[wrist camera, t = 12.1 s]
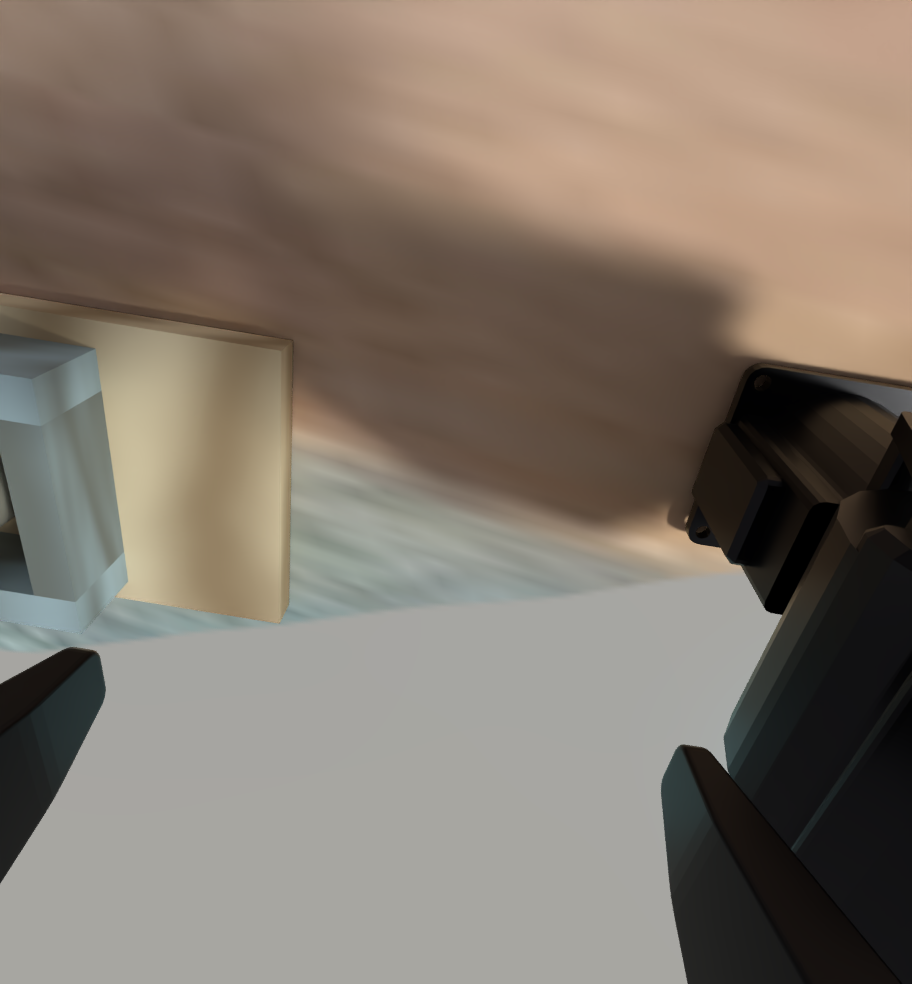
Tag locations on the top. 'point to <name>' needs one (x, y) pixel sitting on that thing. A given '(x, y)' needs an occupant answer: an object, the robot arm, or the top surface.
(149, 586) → the jig
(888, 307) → the top surface
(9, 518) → the cylinder
